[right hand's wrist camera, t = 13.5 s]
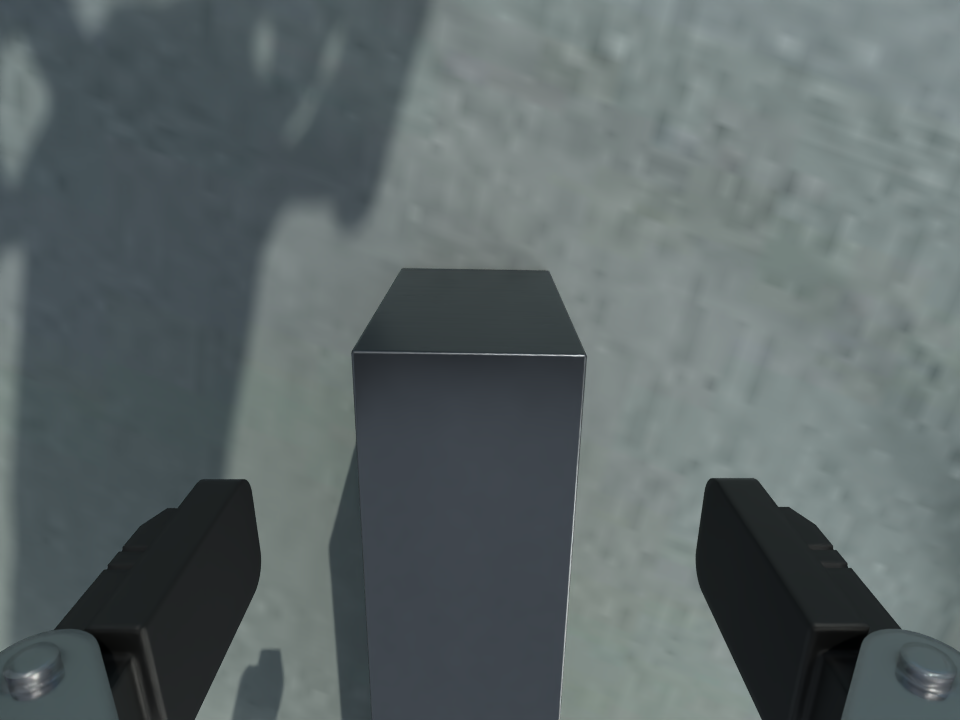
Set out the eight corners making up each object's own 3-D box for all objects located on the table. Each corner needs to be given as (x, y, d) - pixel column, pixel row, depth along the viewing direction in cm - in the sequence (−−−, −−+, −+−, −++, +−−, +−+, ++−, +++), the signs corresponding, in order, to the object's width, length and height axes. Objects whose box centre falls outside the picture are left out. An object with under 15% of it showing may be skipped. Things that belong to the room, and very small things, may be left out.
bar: (401, 268, 21) (350, 350, 13) (549, 270, 21) (587, 355, 13) (415, 794, 29) (389, 1040, 21) (522, 796, 29) (535, 1043, 21)
